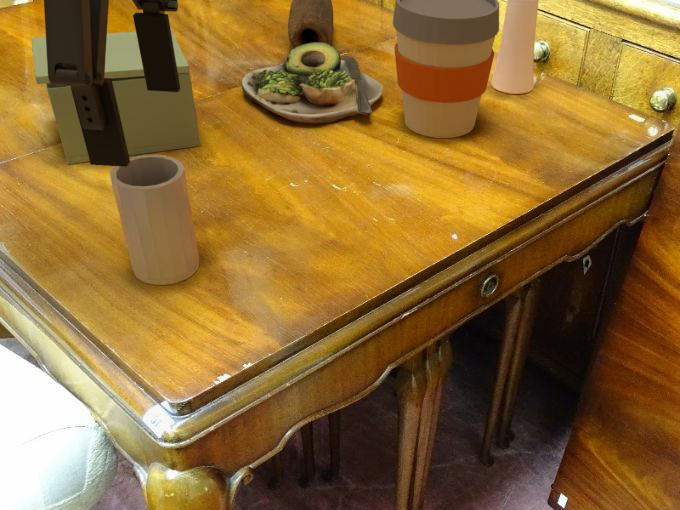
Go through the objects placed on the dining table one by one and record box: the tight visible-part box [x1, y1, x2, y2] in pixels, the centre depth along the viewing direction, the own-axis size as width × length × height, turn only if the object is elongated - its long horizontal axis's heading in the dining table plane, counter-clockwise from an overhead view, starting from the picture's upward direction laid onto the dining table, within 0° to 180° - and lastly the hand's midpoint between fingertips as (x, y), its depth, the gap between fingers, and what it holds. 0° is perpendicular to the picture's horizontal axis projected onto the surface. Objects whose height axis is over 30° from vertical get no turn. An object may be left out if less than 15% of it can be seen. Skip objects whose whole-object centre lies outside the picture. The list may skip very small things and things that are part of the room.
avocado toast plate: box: [241, 42, 384, 125], centre depth 101 cm, size 19×18×5 cm
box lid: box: [30, 29, 191, 85], centre depth 86 cm, size 15×12×1 cm
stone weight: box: [287, 0, 334, 49], centre depth 116 cm, size 15×7×7 cm, turn 8°
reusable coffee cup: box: [392, 0, 500, 139], centre depth 94 cm, size 13×13×15 cm
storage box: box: [46, 72, 202, 165], centre depth 89 cm, size 15×12×9 cm
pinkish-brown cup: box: [109, 153, 201, 286], centre depth 69 cm, size 6×6×10 cm
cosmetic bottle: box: [490, 0, 539, 95], centre depth 102 cm, size 6×6×22 cm
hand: (139, 124), depth 63 cm, fingers open, 13 cm apart
